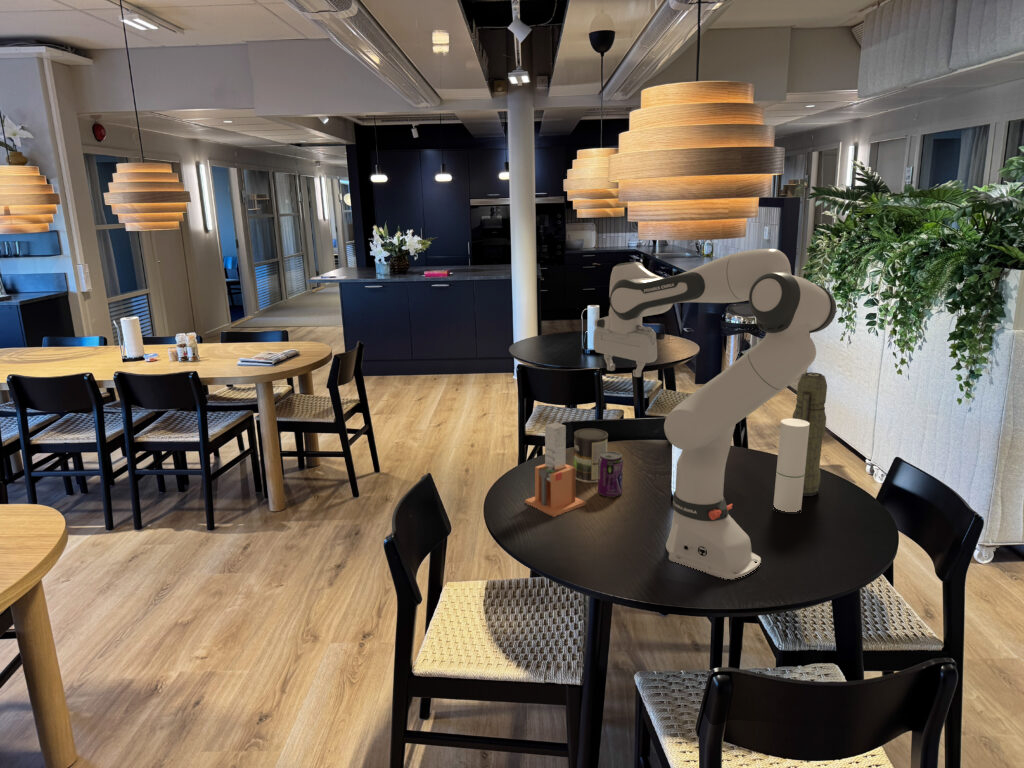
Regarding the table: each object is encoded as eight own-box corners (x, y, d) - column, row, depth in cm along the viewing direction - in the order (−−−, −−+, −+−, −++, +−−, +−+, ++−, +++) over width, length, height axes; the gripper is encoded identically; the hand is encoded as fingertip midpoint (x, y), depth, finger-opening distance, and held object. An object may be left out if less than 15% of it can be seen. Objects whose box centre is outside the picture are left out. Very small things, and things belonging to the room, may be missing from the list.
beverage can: (614, 500, 202) (615, 461, 199) (593, 494, 206) (593, 455, 203) (626, 492, 207) (627, 453, 204) (605, 487, 212) (606, 449, 209)
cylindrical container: (801, 506, 197) (810, 420, 190) (800, 516, 190) (808, 427, 184) (774, 502, 200) (782, 417, 193) (772, 512, 193) (779, 424, 187)
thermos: (821, 486, 210) (833, 371, 201) (814, 501, 200) (827, 380, 191) (790, 481, 214) (800, 368, 206) (782, 494, 205) (792, 377, 196)
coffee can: (574, 483, 215) (574, 438, 211) (572, 470, 225) (573, 428, 221) (608, 483, 214) (609, 438, 211) (605, 470, 224) (606, 428, 221)
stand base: (585, 504, 199) (586, 467, 196) (553, 516, 192) (553, 478, 189) (556, 492, 208) (556, 456, 206) (525, 503, 201) (524, 465, 198)
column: (565, 480, 198) (566, 425, 194) (553, 484, 195) (553, 429, 191) (555, 476, 201) (555, 422, 197) (543, 480, 198) (543, 425, 194)
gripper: (663, 326, 184) (661, 378, 187) (606, 317, 199) (604, 365, 203) (647, 329, 180) (645, 382, 183) (590, 319, 195) (589, 368, 199)
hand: (623, 373), depth 193 cm, fingers open, 8 cm apart
